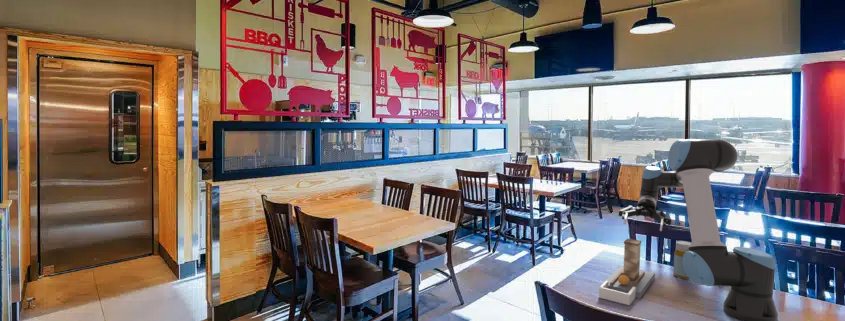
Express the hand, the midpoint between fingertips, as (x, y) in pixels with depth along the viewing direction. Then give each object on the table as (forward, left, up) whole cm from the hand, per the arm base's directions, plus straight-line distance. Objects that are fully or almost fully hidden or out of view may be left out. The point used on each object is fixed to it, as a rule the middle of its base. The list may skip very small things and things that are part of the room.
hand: (642, 224), depth 175 cm
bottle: (-13, -17, -25) cm, 33 cm away
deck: (+3, +6, -25) cm, 25 cm away
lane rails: (+3, +8, -22) cm, 24 cm away
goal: (+3, +24, -25) cm, 34 cm away
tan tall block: (+3, +4, -22) cm, 23 cm away
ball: (+3, +15, -22) cm, 27 cm away
